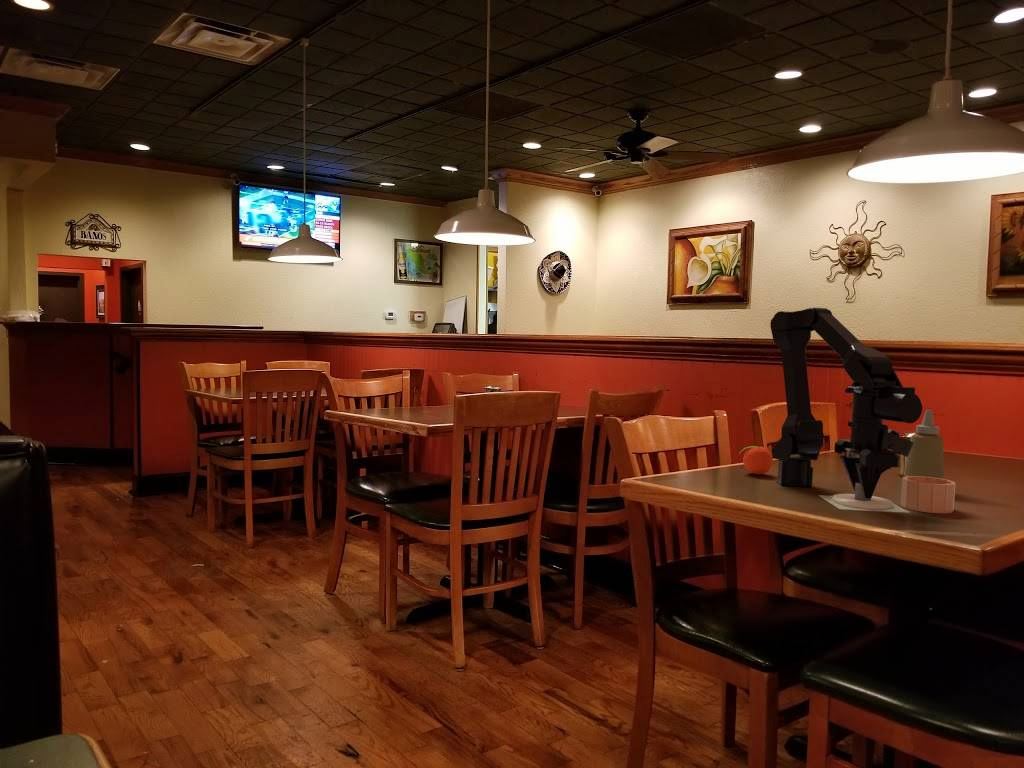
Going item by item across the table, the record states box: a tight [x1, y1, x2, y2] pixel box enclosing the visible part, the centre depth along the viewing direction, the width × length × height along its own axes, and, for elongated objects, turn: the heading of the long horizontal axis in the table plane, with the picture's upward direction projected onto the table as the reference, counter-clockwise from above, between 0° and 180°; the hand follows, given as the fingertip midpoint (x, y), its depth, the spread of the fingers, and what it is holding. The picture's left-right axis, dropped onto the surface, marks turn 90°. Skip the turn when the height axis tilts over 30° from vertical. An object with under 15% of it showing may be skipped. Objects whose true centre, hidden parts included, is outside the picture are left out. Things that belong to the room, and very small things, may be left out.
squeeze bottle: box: [903, 409, 945, 479], centre depth 175 cm, size 8×8×18 cm
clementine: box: [739, 445, 774, 476], centre depth 188 cm, size 8×7×7 cm
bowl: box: [900, 476, 957, 514], centre depth 152 cm, size 9×9×6 cm
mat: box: [818, 494, 911, 514], centre depth 154 cm, size 13×13×1 cm
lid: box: [832, 482, 894, 510], centre depth 154 cm, size 11×11×4 cm
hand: (862, 495), depth 154 cm, fingers open, 5 cm apart
